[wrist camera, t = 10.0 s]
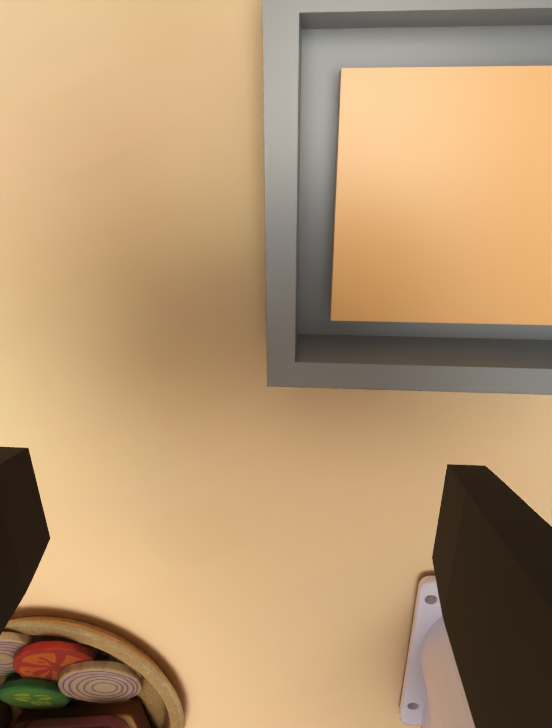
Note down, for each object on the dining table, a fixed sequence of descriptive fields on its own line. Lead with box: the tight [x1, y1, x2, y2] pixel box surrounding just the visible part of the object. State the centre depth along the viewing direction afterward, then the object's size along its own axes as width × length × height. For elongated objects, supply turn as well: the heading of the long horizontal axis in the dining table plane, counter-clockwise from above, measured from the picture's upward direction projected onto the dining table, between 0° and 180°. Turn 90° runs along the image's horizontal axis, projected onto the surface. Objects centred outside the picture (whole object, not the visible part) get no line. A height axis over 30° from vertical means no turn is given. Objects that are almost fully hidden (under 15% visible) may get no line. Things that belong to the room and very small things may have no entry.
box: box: [262, 0, 552, 395], centre depth 14 cm, size 10×10×3 cm
